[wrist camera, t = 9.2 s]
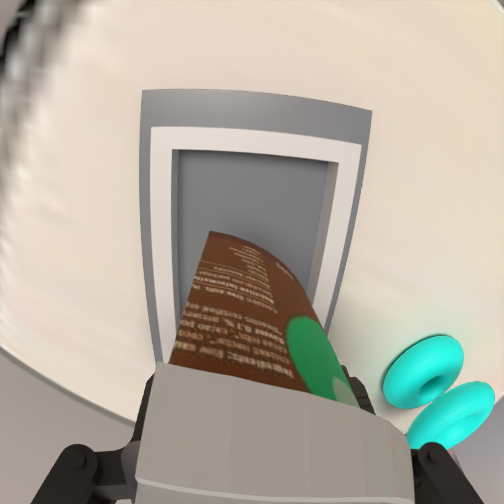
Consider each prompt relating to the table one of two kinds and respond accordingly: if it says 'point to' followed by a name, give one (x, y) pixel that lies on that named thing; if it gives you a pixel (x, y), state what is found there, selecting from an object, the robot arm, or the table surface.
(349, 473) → the food container
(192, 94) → the tray
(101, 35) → the table surface
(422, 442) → the donuts
